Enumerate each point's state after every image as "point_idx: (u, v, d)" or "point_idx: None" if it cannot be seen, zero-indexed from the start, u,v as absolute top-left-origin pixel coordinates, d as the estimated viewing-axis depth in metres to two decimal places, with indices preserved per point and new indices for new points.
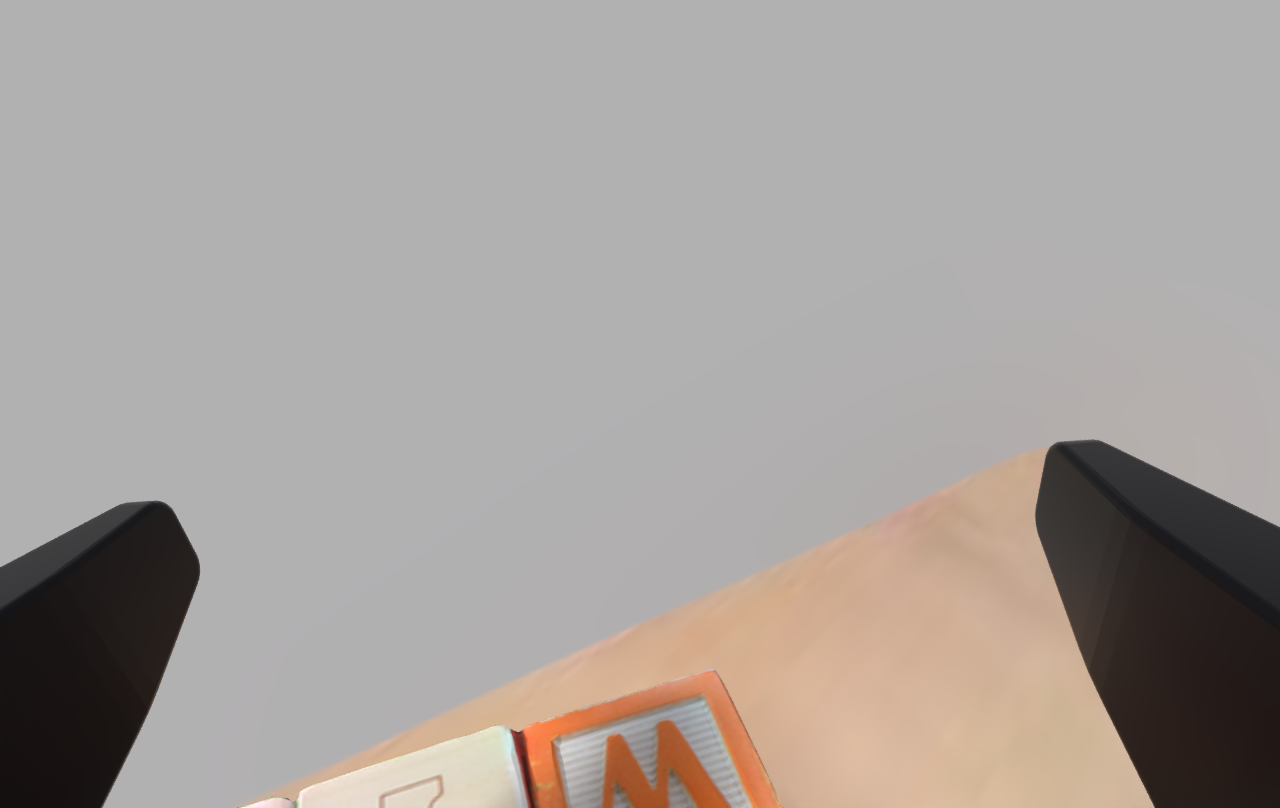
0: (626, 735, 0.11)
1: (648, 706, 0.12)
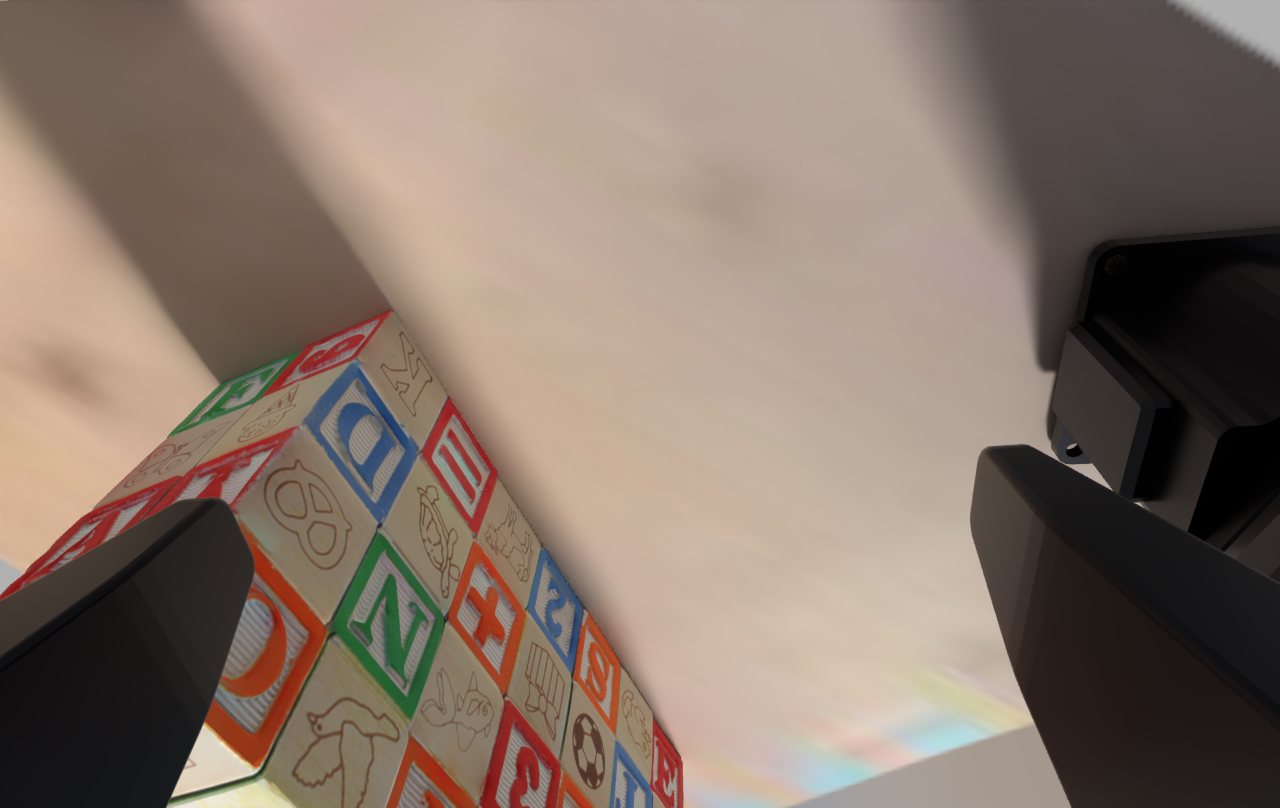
0: None
1: None
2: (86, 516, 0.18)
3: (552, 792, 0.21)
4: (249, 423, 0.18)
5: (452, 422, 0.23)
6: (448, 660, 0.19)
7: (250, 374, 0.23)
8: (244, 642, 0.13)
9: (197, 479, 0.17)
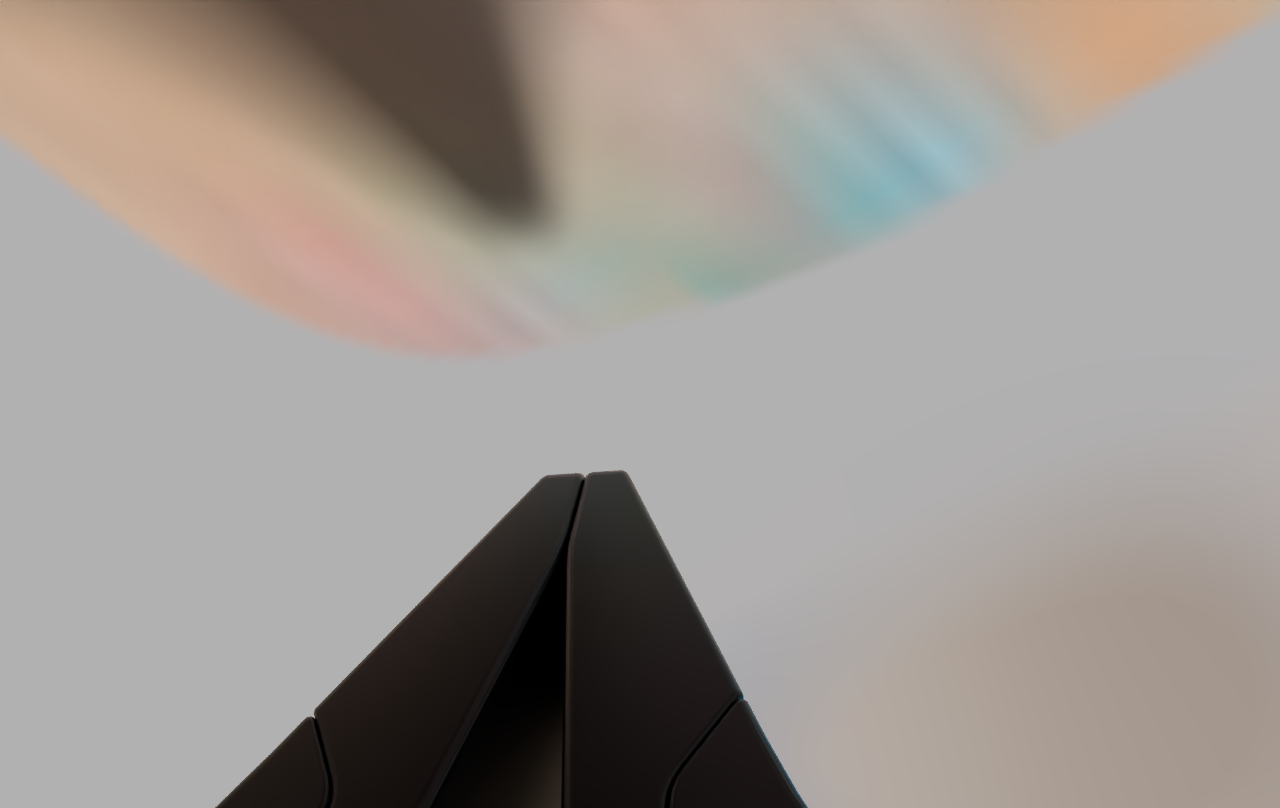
0: None
1: None
2: None
3: None
4: None
5: None
6: None
7: None
8: None
9: None
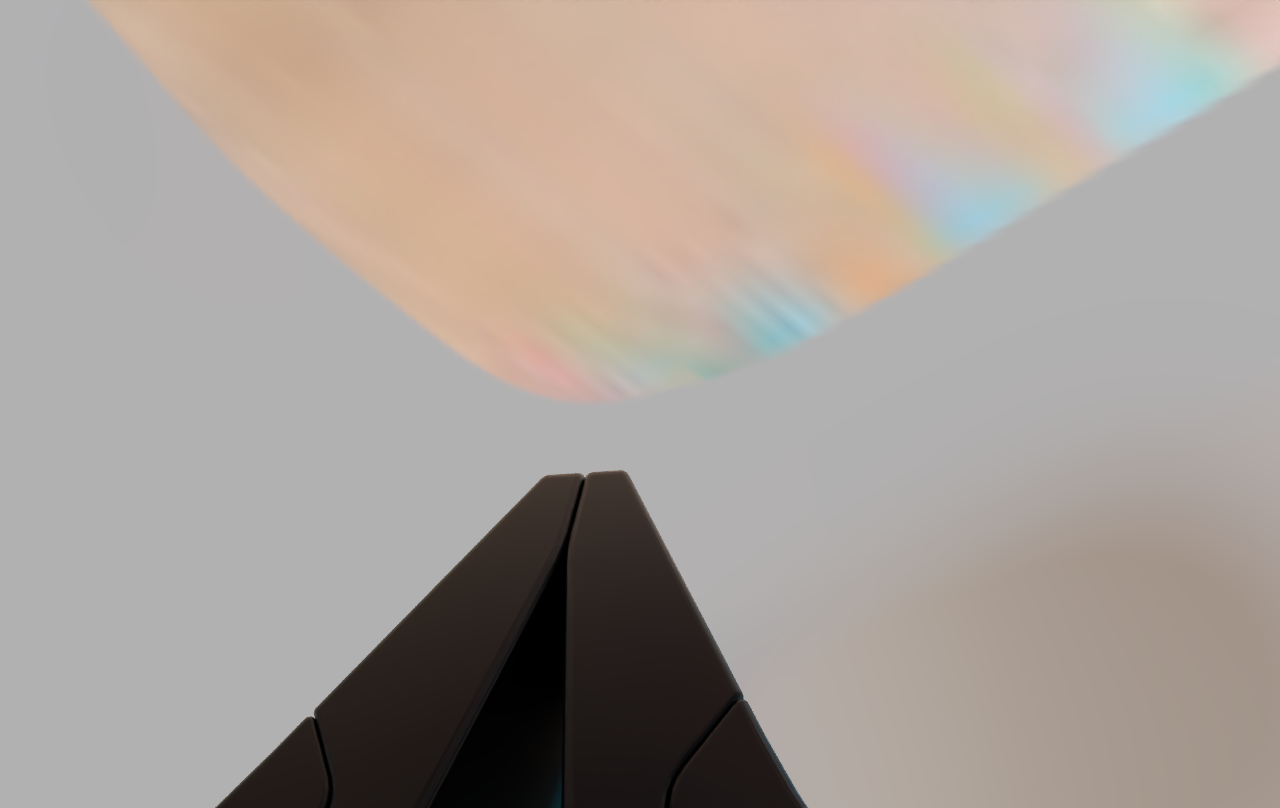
0: None
1: None
2: None
3: None
4: None
5: None
6: None
7: None
8: None
9: None
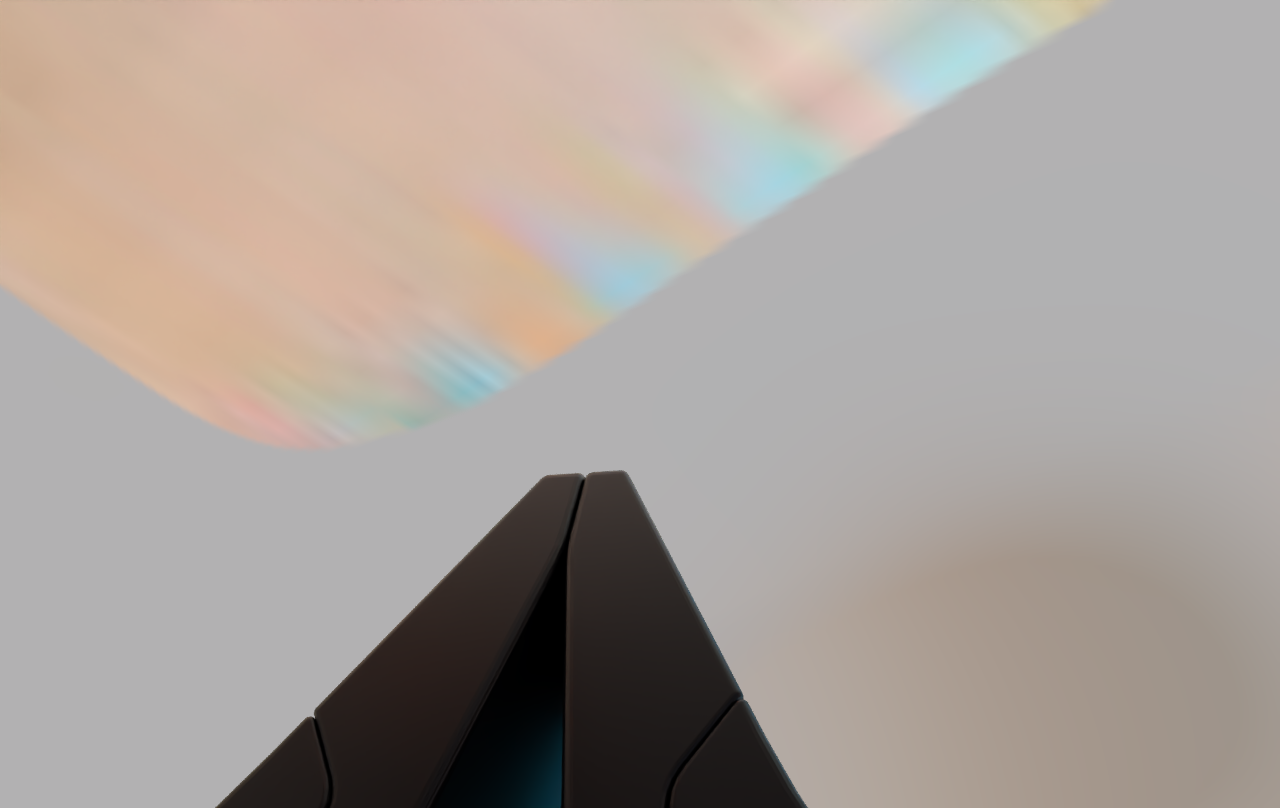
0: None
1: None
2: None
3: None
4: None
5: None
6: None
7: None
8: None
9: None
